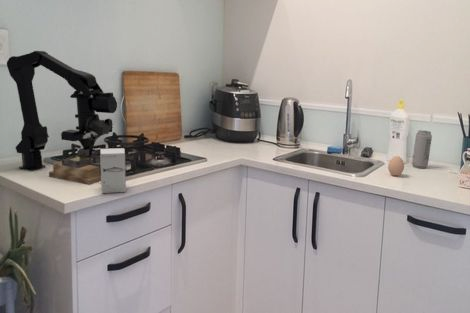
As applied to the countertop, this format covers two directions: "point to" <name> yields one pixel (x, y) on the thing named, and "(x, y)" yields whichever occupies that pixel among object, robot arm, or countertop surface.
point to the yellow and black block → (82, 155)
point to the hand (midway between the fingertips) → (89, 155)
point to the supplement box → (112, 170)
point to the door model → (78, 170)
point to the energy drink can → (422, 149)
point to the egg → (396, 166)
